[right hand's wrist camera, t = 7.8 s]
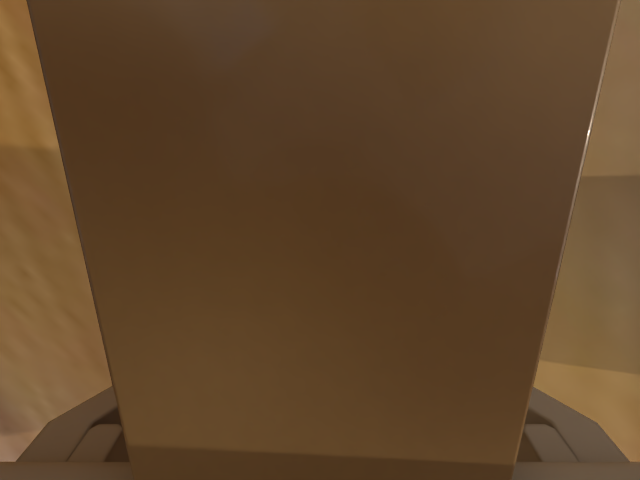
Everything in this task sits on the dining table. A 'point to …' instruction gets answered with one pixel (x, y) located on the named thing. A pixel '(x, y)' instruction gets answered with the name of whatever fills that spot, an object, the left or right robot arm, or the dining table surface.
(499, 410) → the bar
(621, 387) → the dining table surface
